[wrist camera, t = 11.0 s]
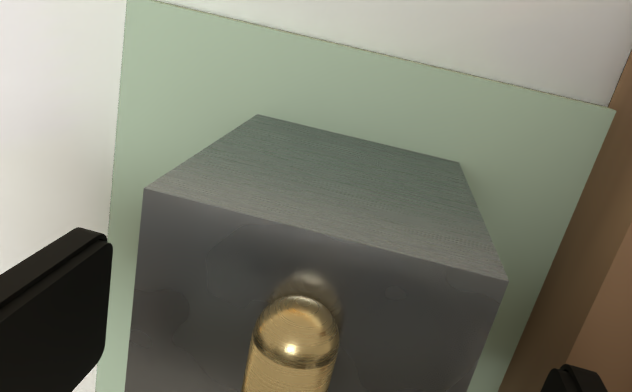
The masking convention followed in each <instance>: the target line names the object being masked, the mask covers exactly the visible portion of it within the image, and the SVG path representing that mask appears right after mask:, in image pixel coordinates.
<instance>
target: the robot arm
mask: <svg viewBox="0 0 632 392" xmlns="http://www.w3.org/2000/svg"><path fill="white" fill-rule="evenodd" d="M112 257H113V246H112V244H111V243H108V242H107V238H106V236H105V235H104V234H101V233H98V232H94V231H91V230H87V229H83V228H79V227H78V228H75V229H73V230H72V231H70V232H68V233H67V234H65V235H64V236H62V237H60V238H59V239H57V240H56V241H54V242H52V243H51V244H49V245H48V246H46V247H44V248H43V249H41V250H40V251H38V252H36V253H35V254H33V255H32V256H30V257H28V258H27V259H25V260H24V261H22V262H20V263H19V264H17V265H16V266H14V267H12V268H11V269H9V270H7V271H6V272H4V273H3V274H1V275H0V392H72V391H73V390H74V388H75V387H76V386H77V385H78V384H79V383H80V382H81V381H82V380H83V379H84V377H85V376H86V375H87V374H88V373H89V372H90V371H91V370H92V369H93V367H94V366H95V365H96V364H97V363H98V362H99V360H100V358H101V357H102V354H103V352H104V349H105V341H106V329H107V317H108V305H109V293H110V281H111V269H112ZM540 392H608V391H607V389H606V387H605V385H604V384H603V382H602V380H601V378H600V376H599V375H598V374H597V373H596V372H594V371H590V370H587V369H583V368H580V367H576V366H573V365H569V364H564V365H562V366H561V367H560V369H556V368H553V369H552V370H551V371H550V372H549V374H548V376H547V378H546V380H545V382H544V385H543V387H542V389H541V391H540Z"/></svg>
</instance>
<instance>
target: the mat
mask: <svg viewBox="0 0 632 392" xmlns="http://www.w3.org/2000/svg"><path fill="white" fill-rule="evenodd" d="M615 113H616V110H613V109H611V108H608V107H604V106H600V105H596V104H592V103H587V102H583V101H579V100H575V99H570V98H566V97H562V96H558V95H554V94H549V93H545V92H541V91H537V90H532V89H528V88H524V87H520V86H515V85H511V84H507V83H503V82H498V81H494V80H490V79H486V78H481V77H477V76H473V75H469V74H464V73H460V72H456V71H452V70H447V69H443V68H439V67H435V66H430V65H426V64H422V63H418V62H414V61H409V60H405V59H401V58H397V57H392V56H388V55H384V54H380V53H375V52H371V51H367V50H363V49H358V48H354V47H350V46H346V45H341V44H337V43H333V42H329V41H324V40H320V39H316V38H312V37H307V36H303V35H299V34H295V33H290V32H286V31H282V30H278V29H273V28H269V27H265V26H261V25H257V24H252V23H248V22H244V21H240V20H235V19H231V18H227V17H223V16H218V15H214V14H210V13H206V12H201V11H197V10H193V9H189V8H184V7H180V6H176V5H172V4H167V3H163V2H159V1H155V0H127V4H126V17H125V29H124V42H123V54H122V66H121V79H120V91H119V103H118V116H117V128H116V141H115V153H114V165H113V178H112V190H111V203H110V215H109V227H108V240H107V242H108V243H111V244H112V246H113V257H112V269H111V281H110V293H109V305H108V317H107V329H106V341H105V349H104V352H103V354H102V357H101V358H100V360H99V362H98V364H97V376H96V389H95V392H124V390H125V380H126V369H127V359H128V348H129V338H130V327H131V316H132V306H133V295H134V285H135V274H136V264H137V253H138V243H139V232H140V222H141V211H142V200H143V190H144V188H145V187H146V186H148V185H149V184H151V183H152V182H154V181H155V180H157V179H158V178H160V177H161V176H163V175H165V174H166V173H168V172H169V171H171V170H172V169H174V168H175V167H177V166H178V165H180V164H181V163H183V162H184V161H186V160H188V159H189V158H191V157H192V156H194V155H195V154H197V153H198V152H200V151H201V150H203V149H204V148H206V147H208V146H209V145H211V144H212V143H214V142H215V141H217V140H218V139H220V138H221V137H223V136H224V135H226V134H228V133H229V132H231V131H232V130H234V129H235V128H237V127H238V126H240V125H241V124H243V123H244V122H246V121H248V120H249V119H251V118H252V117H254V116H255V115H257V114H260V115H264V116H268V117H272V118H276V119H280V120H285V121H289V122H293V123H297V124H301V125H305V126H310V127H314V128H318V129H322V130H326V131H330V132H335V133H339V134H343V135H347V136H351V137H356V138H360V139H364V140H368V141H372V142H376V143H381V144H385V145H389V146H393V147H397V148H401V149H406V150H410V151H414V152H418V153H422V154H426V155H431V156H435V157H439V158H443V159H447V160H452V161H456V162H459V164H460V166H461V168H462V171H463V173H464V175H465V178H466V180H467V183H468V185H469V187H470V190H471V192H472V194H473V197H474V199H475V202H476V204H477V206H478V209H479V211H480V213H481V216H482V218H483V221H484V223H485V225H486V228H487V230H488V232H489V235H490V237H491V240H492V242H493V244H494V247H495V249H496V251H497V254H498V256H499V259H500V261H501V263H502V266H503V268H504V270H505V273H506V275H507V278H508V280H509V283H508V286H507V288H506V291H505V293H504V296H503V299H502V301H501V304H500V306H499V309H498V312H497V314H496V317H495V319H494V322H493V325H492V327H491V330H490V332H489V335H488V338H487V340H486V343H485V345H484V348H483V350H482V353H481V356H480V358H479V361H478V363H477V366H476V369H475V371H474V374H473V376H472V379H471V382H470V384H469V387H468V389H467V392H498V390H499V387H500V385H501V383H502V380H503V378H504V375H505V373H506V371H507V368H508V366H509V364H510V361H511V359H512V357H513V354H514V352H515V350H516V347H517V345H518V342H519V340H520V338H521V335H522V333H523V331H524V328H525V326H526V324H527V321H528V319H529V316H530V314H531V312H532V309H533V307H534V305H535V302H536V300H537V298H538V295H539V293H540V291H541V288H542V286H543V283H544V281H545V279H546V276H547V274H548V272H549V269H550V267H551V265H552V262H553V260H554V257H555V255H556V253H557V250H558V248H559V246H560V243H561V241H562V239H563V236H564V234H565V232H566V229H567V227H568V224H569V222H570V220H571V217H572V215H573V213H574V210H575V208H576V206H577V203H578V201H579V198H580V196H581V194H582V191H583V189H584V187H585V184H586V182H587V180H588V177H589V175H590V172H591V170H592V168H593V165H594V163H595V161H596V158H597V156H598V154H599V151H600V149H601V147H602V144H603V142H604V139H605V137H606V135H607V132H608V130H609V128H610V125H611V123H612V121H613V118H614V116H615Z"/></svg>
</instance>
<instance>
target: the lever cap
mask: <svg viewBox="0 0 632 392" xmlns="http://www.w3.org/2000/svg"><path fill="white" fill-rule="evenodd" d="M508 283H509V280H508V278H507V275H506V273H505V270H504V268H503V266H502V263H501V261H500V259H499V256H498V254H497V251H496V249H495V247H494V244H493V242H492V240H491V237H490V235H489V232H488V230H487V228H486V225H485V223H484V221H483V218H482V216H481V213H480V211H479V209H478V206H477V204H476V202H475V199H474V197H473V194H472V192H471V190H470V187H469V185H468V183H467V180H466V178H465V175H464V173H463V171H462V168H461V166H460V164H459V162H456V161H452V160H447V159H443V158H439V157H435V156H431V155H426V154H422V153H418V152H414V151H410V150H406V149H401V148H397V147H393V146H389V145H385V144H381V143H376V142H372V141H368V140H364V139H360V138H356V137H351V136H347V135H343V134H339V133H335V132H330V131H326V130H322V129H318V128H314V127H310V126H305V125H301V124H297V123H293V122H289V121H285V120H280V119H276V118H272V117H268V116H264V115H260V114H257V115H255V116H254V117H252V118H251V119H249V120H248V121H246V122H244V123H243V124H241V125H240V126H238V127H237V128H235V129H234V130H232V131H231V132H229V133H228V134H226V135H224V136H223V137H221V138H220V139H218V140H217V141H215V142H214V143H212V144H211V145H209V146H208V147H206V148H204V149H203V150H201V151H200V152H198V153H197V154H195V155H194V156H192V157H191V158H189V159H188V160H186V161H184V162H183V163H181V164H180V165H178V166H177V167H175V168H174V169H172V170H171V171H169V172H168V173H166V174H165V175H163V176H161V177H160V178H158V179H157V180H155V181H154V182H152V183H151V184H149V185H148V186H146V187H145V188H144V190H143V200H142V211H141V222H140V232H139V243H138V253H137V264H136V274H135V285H134V295H133V306H132V316H131V327H130V338H129V348H128V359H127V369H126V380H125V390H124V392H467V389H468V387H469V384H470V382H471V379H472V376H473V374H474V371H475V369H476V366H477V363H478V361H479V358H480V356H481V353H482V350H483V348H484V345H485V343H486V340H487V338H488V335H489V332H490V330H491V327H492V325H493V322H494V319H495V317H496V314H497V312H498V309H499V306H500V304H501V301H502V299H503V296H504V293H505V291H506V288H507V286H508Z"/></svg>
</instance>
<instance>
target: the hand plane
mask: <svg viewBox="0 0 632 392" xmlns="http://www.w3.org/2000/svg"><path fill="white" fill-rule="evenodd" d="M608 108H611V109H613V110H616V113H615V116H614V118H613V121H612V123H611V125H610V128H609V130H608V132H607V135H606V137H605V139H604V142H603V144H602V147H601V149H600V151H599V154H598V156H597V158H596V161H595V163H594V165H593V168H592V170H591V172H590V175H589V177H588V180H587V182H586V184H585V187H584V189H583V191H582V194H581V196H580V198H579V201H578V203H577V206H576V208H575V210H574V213H573V215H572V217H571V220H570V222H569V224H568V227H567V229H566V232H565V234H564V236H563V239H562V241H561V243H560V246H559V248H558V250H557V253H556V255H555V257H554V260H553V262H552V265H551V267H550V269H549V272H548V274H547V276H546V279H545V281H544V283H543V286H542V288H541V291H540V293H539V295H538V298H537V300H536V302H535V305H534V307H533V309H532V312H531V314H530V316H529V319H528V321H527V324H526V326H525V328H524V331H523V333H522V335H521V338H520V340H519V342H518V345H517V347H516V350H515V352H514V354H513V357H512V359H511V361H510V364H509V366H508V368H507V371H506V373H505V375H504V378H503V380H502V383H501V385H500V387H499V390H498V392H540V391H541V389H542V387H543V385H544V382H545V380H546V378H547V376H548V374H549V372H550V371H551V370H552V369H553V368H556V369H560V367H561V366H562V365H564V364H569V365H573V366H576V367H580V368H583V369H587V370H590V371H594V372H596V373H597V374H598V375H599V376H600V378H601V380H602V382H603V384H604V385H605V387H606V389H607V391H608V392H632V51H631V53H630V56H629V58H628V61H627V63H626V65H625V68H624V70H623V73H622V75H621V77H620V80H619V82H618V85H617V87H616V89H615V92H614V94H613V97H612V99H611V101H610V104H609V106H608Z"/></svg>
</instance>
